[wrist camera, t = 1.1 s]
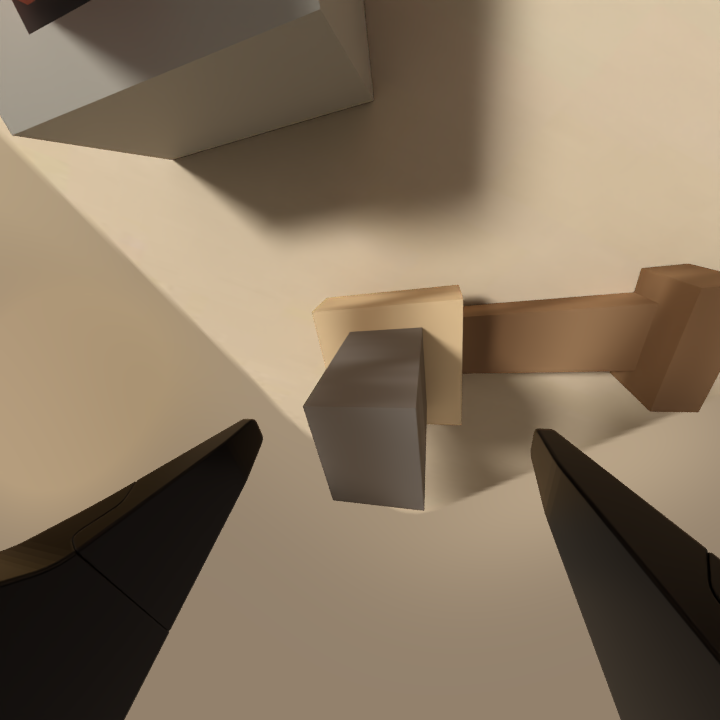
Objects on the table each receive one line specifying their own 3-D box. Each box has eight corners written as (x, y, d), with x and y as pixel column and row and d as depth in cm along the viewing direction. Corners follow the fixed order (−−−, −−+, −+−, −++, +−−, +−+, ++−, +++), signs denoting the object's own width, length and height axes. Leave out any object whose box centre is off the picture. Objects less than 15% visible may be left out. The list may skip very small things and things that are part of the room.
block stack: (458, 284, 12) (485, 371, 6) (457, 398, 14) (475, 536, 9) (327, 297, 13) (242, 376, 7) (349, 398, 16) (300, 512, 10)
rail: (732, 259, 11) (826, 278, 8) (682, 370, 13) (743, 412, 10) (338, 298, 15) (319, 318, 12) (354, 376, 17) (340, 406, 15)
